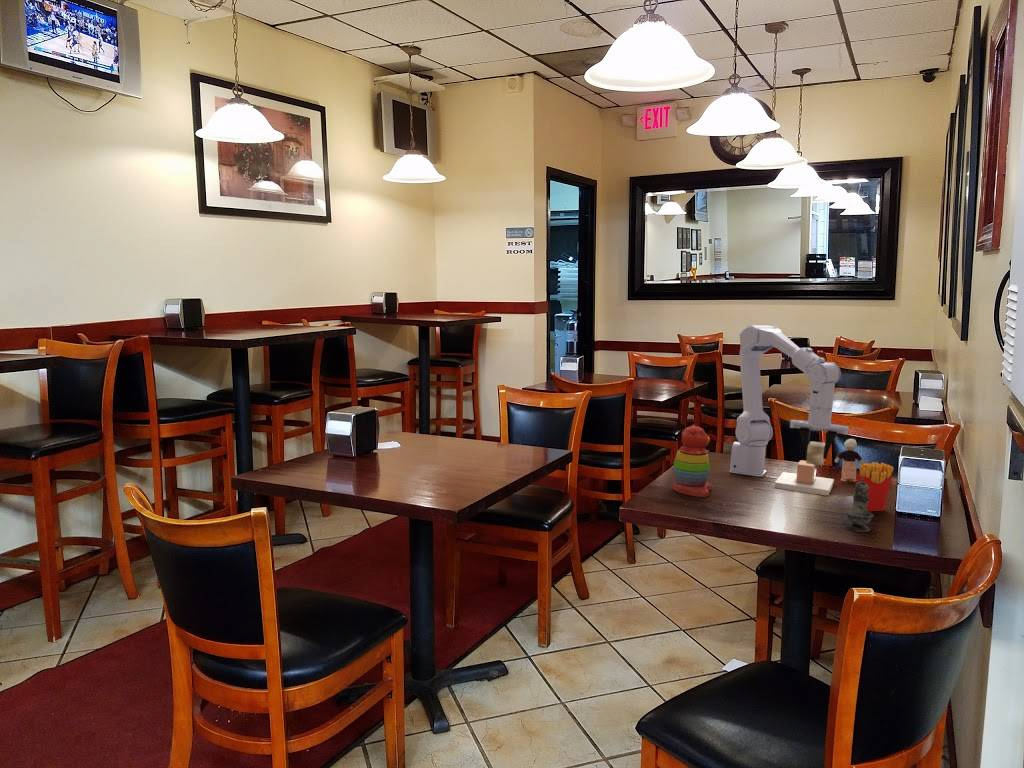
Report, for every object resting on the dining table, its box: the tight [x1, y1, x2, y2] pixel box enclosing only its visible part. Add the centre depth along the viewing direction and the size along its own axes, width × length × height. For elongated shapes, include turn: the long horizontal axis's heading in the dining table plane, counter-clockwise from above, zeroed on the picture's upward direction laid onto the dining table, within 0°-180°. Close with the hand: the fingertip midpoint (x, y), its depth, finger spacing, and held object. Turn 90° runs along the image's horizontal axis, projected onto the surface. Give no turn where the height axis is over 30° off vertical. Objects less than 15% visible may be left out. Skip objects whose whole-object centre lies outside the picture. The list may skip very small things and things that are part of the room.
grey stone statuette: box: [845, 479, 874, 533], centre depth 181 cm, size 6×6×12 cm
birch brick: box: [805, 440, 826, 466], centre depth 208 cm, size 4×6×5 cm, turn 152°
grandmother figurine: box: [834, 438, 864, 482], centre depth 224 cm, size 8×4×13 cm, turn 84°
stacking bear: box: [672, 424, 713, 498], centre depth 207 cm, size 11×10×18 cm
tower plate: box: [774, 471, 835, 497], centre depth 218 cm, size 14×14×2 cm
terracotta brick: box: [796, 459, 816, 484], centre depth 217 cm, size 4×6×5 cm, turn 153°
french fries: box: [856, 461, 894, 512], centre depth 196 cm, size 8×4×12 cm, turn 94°
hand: (815, 456), depth 208 cm, fingers closed on birch brick, 4 cm apart
